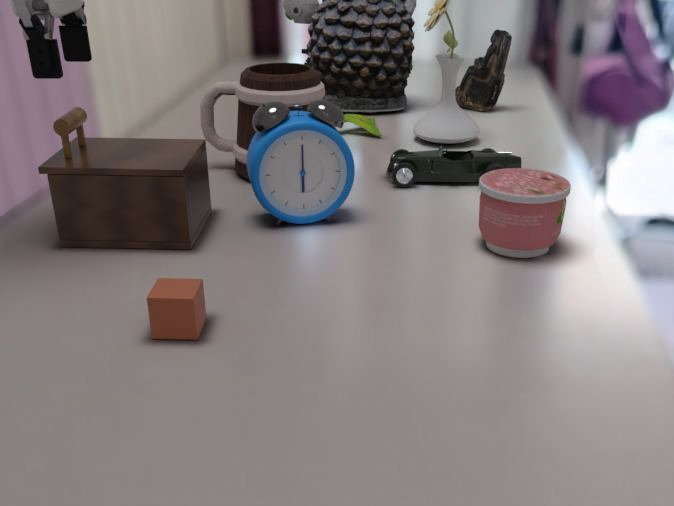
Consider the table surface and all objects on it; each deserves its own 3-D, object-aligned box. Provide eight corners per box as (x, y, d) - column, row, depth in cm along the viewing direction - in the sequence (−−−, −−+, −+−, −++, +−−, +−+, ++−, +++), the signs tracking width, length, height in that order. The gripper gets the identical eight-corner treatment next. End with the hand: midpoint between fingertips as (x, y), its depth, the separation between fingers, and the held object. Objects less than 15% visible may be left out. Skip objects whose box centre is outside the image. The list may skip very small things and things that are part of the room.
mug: (339, 158, 127) (339, 60, 120) (324, 189, 114) (323, 81, 107) (218, 153, 130) (210, 56, 122) (190, 183, 117) (179, 76, 109)
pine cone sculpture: (412, 100, 164) (417, -35, 151) (415, 118, 150) (422, -28, 138) (310, 99, 164) (307, -36, 151) (305, 117, 151) (302, -29, 138)
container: (506, 269, 91) (514, 201, 87) (457, 237, 99) (462, 174, 95) (580, 253, 95) (590, 188, 91) (526, 224, 103) (534, 163, 99)
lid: (38, 174, 91) (29, 126, 88) (76, 143, 102) (69, 100, 100) (183, 176, 91) (178, 128, 88) (206, 145, 102) (202, 102, 99)
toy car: (384, 169, 123) (385, 137, 120) (514, 170, 123) (518, 138, 120) (387, 189, 114) (388, 155, 112) (526, 190, 115) (530, 156, 112)
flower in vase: (422, 129, 144) (429, -24, 131) (484, 134, 140) (498, -22, 128) (401, 148, 133) (407, -16, 121) (469, 154, 130) (482, -14, 117)
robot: (361, 108, 186) (259, 37, 188) (397, 49, 180) (291, -23, 183) (348, 105, 175) (239, 30, 177) (386, 42, 169) (273, -35, 172)
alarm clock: (253, 229, 101) (246, 109, 93) (249, 213, 106) (242, 97, 98) (355, 222, 103) (356, 104, 96) (345, 206, 108) (345, 93, 101)
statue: (462, 101, 163) (467, 22, 155) (511, 111, 155) (519, 29, 148) (444, 106, 159) (450, 25, 152) (494, 116, 152) (502, 32, 144)
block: (151, 339, 76) (146, 297, 74) (163, 317, 80) (158, 277, 78) (197, 340, 76) (193, 298, 74) (206, 318, 80) (202, 278, 78)
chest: (60, 247, 96) (46, 174, 91) (94, 210, 107) (83, 143, 102) (191, 249, 95) (183, 177, 91) (211, 212, 106) (206, 145, 102)
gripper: (30, -103, 91) (58, 55, 99) (-40, -101, 76) (0, 85, 84) (95, -104, 90) (118, 55, 99) (38, -102, 75) (70, 85, 84)
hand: (64, 69), depth 92 cm, fingers open, 9 cm apart
